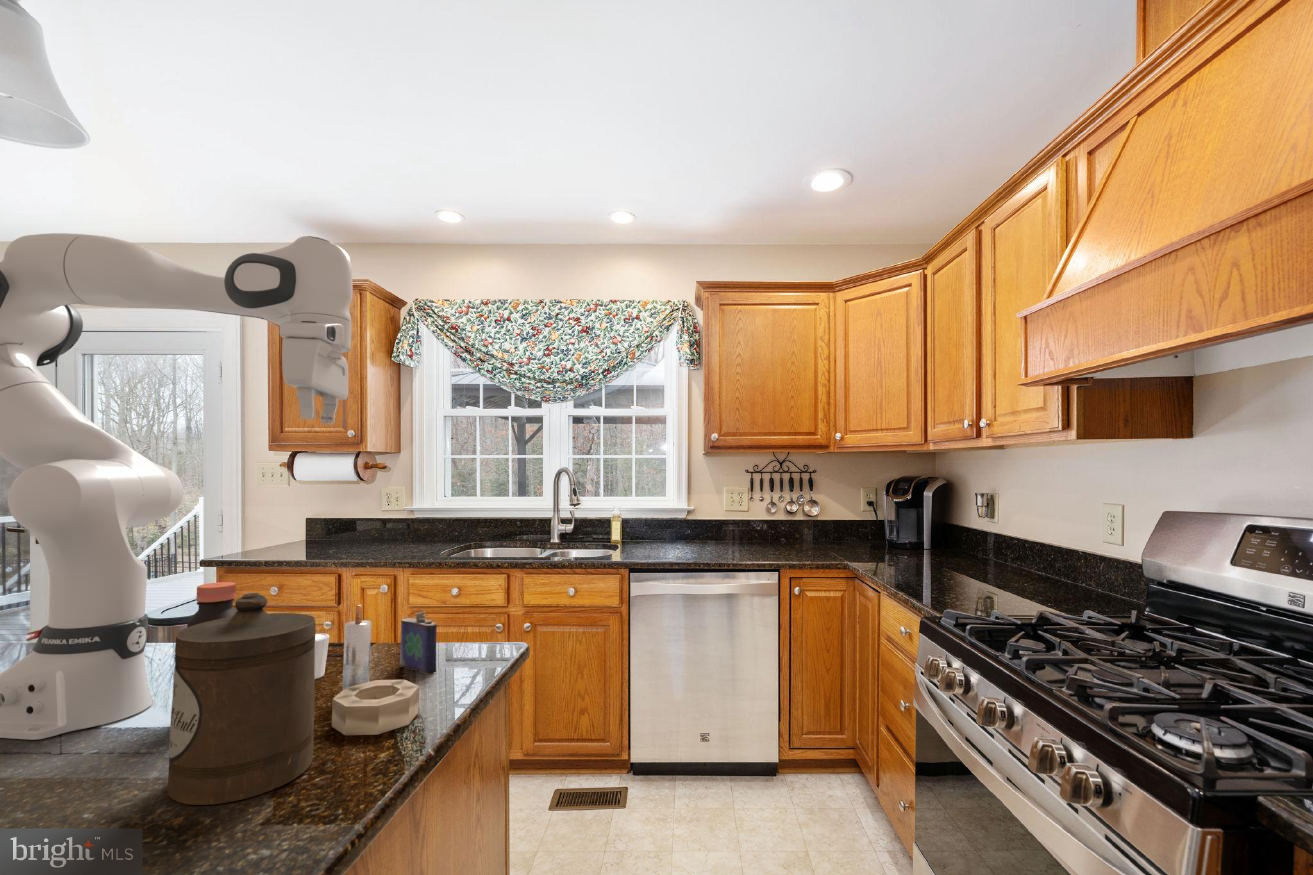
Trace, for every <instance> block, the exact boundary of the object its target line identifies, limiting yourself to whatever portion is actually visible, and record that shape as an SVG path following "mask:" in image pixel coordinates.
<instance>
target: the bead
mask: <svg viewBox="0 0 1313 875" xmlns="http://www.w3.org/2000/svg"><path fill="white" fill-rule="evenodd" d="M419 699H420V685H418V684H415V683H413V682H411V681H408V680H406V679H378V680H377V679H376V680H371V681H369V682H367V683H363V684H359V685H355V686H351V687H347V688H345V689H344V690H343V691H339V693H338V694H337V695H336V696H334V697H333V698H332V706H331V708H332V709H331V710H332V711H331V727H332V728H333V729H334V730H336V731H338V732H339V733H341V734H342V735H344V736H363V735H364V736H366V735H367V736H370V735H371V736H372V735H375V736H376V735H380V734H384V733H387V732H390V731H393V730H395V729H396V730H397V729H399V728H402V727H406V726H408V725H409V726H410V724H411V722H412V721H413V720H414V718H415V717H416V716H417V715H418V714H419V707H420V706H419V703H420V702H419V701H420V700H419Z"/></svg>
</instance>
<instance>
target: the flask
mask: <svg viewBox="0 0 1313 875" xmlns="http://www.w3.org/2000/svg"><path fill="white" fill-rule="evenodd" d="M426 613H427V612H426V611H425V610H424V611H419V612H414V616H415V618H413V617H412V618H408V617H407V618H403V619H401V621H400V623H401V624H400V626H401V627H400V628H401V629H400V635H401V636H400V654H399V667H401V668H402V667H404V668H403V669H408V670H409V669H411V670H410V671H412V670H415V671H416V672H417V671H419V672H420V673H421V674H425V675H432V674H434V672H435V673H437V627H438V626H437V622H433V621H432V620H431V619H428V618H427V617H426V616H425V615H424V614H426Z"/></svg>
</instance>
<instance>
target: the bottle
mask: <svg viewBox="0 0 1313 875" xmlns="http://www.w3.org/2000/svg"><path fill="white" fill-rule="evenodd" d="M195 597H196V598H195V600H196V605H197V606H198V610H197V611H196V612H195V613H194V614H193V615H192V616H191V617H190V618H189V619H188V621H187V623H186V628H187V627H190V626H193V625H196V624H200V623H204V622H208V621H213V620H218V619H224V618H230V617H233V616H234V614H235V613H236V612H237V611H238V610H237V609H236V607H235V606H233V605H234V602H236V597H237V582H232V581H221V582H220V581H219V582H211V583H204V584H203V583H202V584H200V585H198V586H196V596H195Z"/></svg>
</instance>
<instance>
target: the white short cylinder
mask: <svg viewBox="0 0 1313 875" xmlns="http://www.w3.org/2000/svg"><path fill="white" fill-rule="evenodd" d="M329 642H330V635H329V634H328V633H325V632H324V633H323V632H321V633H320V632H316V635H315V680H316V679H320V678H322V677H323V676H325V672H326V663H327V657H328V650H329V649H328V648H329Z"/></svg>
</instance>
